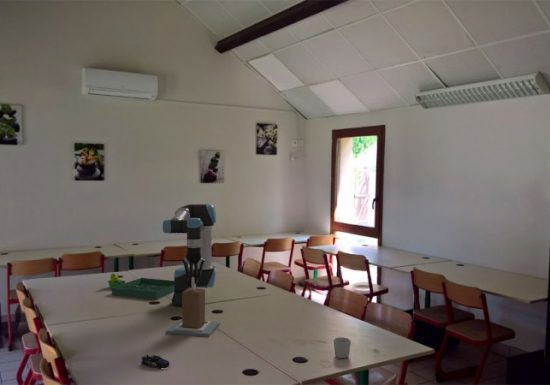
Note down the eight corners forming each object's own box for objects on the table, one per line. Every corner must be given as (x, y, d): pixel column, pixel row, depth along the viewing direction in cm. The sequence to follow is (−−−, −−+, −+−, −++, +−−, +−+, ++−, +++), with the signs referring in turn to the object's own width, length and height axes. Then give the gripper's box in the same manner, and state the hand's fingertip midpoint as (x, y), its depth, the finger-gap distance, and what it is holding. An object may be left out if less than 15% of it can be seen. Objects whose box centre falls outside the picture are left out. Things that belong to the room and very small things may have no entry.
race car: (175, 365, 222) (175, 355, 222) (168, 371, 216) (168, 361, 215) (145, 361, 226) (145, 351, 226) (137, 367, 220) (137, 357, 220)
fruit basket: (126, 287, 360) (126, 272, 360) (116, 290, 353) (116, 274, 352) (115, 285, 366) (115, 270, 366) (105, 288, 359) (105, 272, 358)
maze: (182, 289, 362) (182, 281, 361) (156, 300, 328) (156, 291, 328) (141, 285, 373) (141, 277, 373) (111, 295, 340) (112, 287, 340)
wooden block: (199, 329, 265) (199, 292, 264) (181, 328, 267) (181, 291, 266) (205, 323, 274) (205, 288, 273) (188, 322, 276) (188, 287, 275)
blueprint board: (165, 333, 263) (165, 329, 263) (179, 322, 282) (179, 317, 282) (209, 336, 259) (209, 331, 259) (219, 324, 278) (219, 320, 278)
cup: (330, 351, 240) (331, 335, 239) (346, 351, 240) (347, 335, 240) (335, 360, 229) (335, 343, 228) (352, 359, 229) (352, 342, 229)
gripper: (179, 247, 266) (179, 290, 267) (203, 248, 264) (203, 291, 265) (184, 245, 273) (184, 287, 274) (207, 245, 271) (207, 288, 272)
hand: (193, 289), depth 269 cm, fingers closed
